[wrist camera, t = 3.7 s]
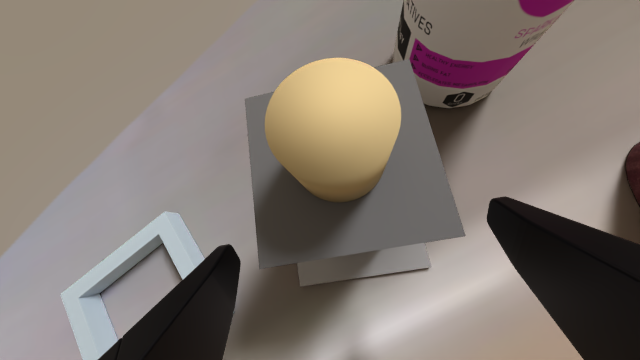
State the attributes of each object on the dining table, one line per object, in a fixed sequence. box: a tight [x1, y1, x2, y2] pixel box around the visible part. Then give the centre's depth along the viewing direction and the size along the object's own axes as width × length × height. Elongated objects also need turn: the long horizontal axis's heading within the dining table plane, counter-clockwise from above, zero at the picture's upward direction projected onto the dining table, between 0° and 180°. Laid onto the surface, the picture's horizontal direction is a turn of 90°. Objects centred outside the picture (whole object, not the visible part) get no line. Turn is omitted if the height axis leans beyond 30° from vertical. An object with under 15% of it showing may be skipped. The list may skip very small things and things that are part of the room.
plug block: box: [245, 58, 465, 269], centre depth 10 cm, size 4×4×14 cm
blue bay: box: [60, 212, 235, 360], centre depth 17 cm, size 9×10×2 cm
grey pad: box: [297, 243, 431, 287], centre depth 17 cm, size 9×9×1 cm
